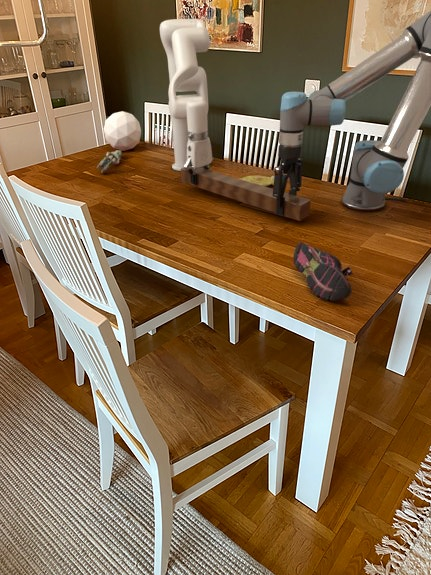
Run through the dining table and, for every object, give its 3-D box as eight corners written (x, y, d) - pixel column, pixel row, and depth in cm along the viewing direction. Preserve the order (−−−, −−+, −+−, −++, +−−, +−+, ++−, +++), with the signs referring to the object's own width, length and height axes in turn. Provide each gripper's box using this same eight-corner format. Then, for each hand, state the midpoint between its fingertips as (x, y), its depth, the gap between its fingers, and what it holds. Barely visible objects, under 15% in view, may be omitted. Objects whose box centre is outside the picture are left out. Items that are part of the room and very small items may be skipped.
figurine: (101, 154, 197) (119, 141, 223) (91, 167, 200) (110, 152, 227) (114, 165, 199) (130, 151, 225) (103, 178, 203) (121, 162, 229)
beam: (181, 181, 181) (180, 168, 178) (192, 177, 185) (191, 164, 182) (299, 221, 148) (300, 205, 145) (309, 215, 152) (311, 200, 149)
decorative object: (249, 169, 197) (291, 174, 187) (250, 175, 198) (291, 179, 189) (226, 183, 183) (269, 189, 173) (226, 189, 184) (269, 195, 174)
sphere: (117, 161, 243) (97, 129, 240) (149, 144, 245) (129, 111, 242) (115, 152, 224) (93, 117, 222) (149, 133, 226) (128, 98, 224)
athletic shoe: (338, 290, 105) (377, 282, 109) (296, 227, 116) (333, 222, 121) (320, 318, 113) (358, 309, 118) (283, 256, 125) (319, 251, 129)
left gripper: (188, 142, 161) (191, 189, 170) (220, 132, 171) (221, 177, 181) (174, 138, 165) (178, 185, 175) (206, 129, 175) (208, 174, 185)
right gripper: (282, 153, 134) (278, 223, 146) (316, 140, 146) (309, 206, 158) (262, 149, 138) (260, 217, 151) (297, 136, 150) (292, 201, 163)
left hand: (200, 181), depth 178 cm, fingers closed on beam, 6 cm apart
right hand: (285, 211), depth 155 cm, fingers closed on beam, 6 cm apart
